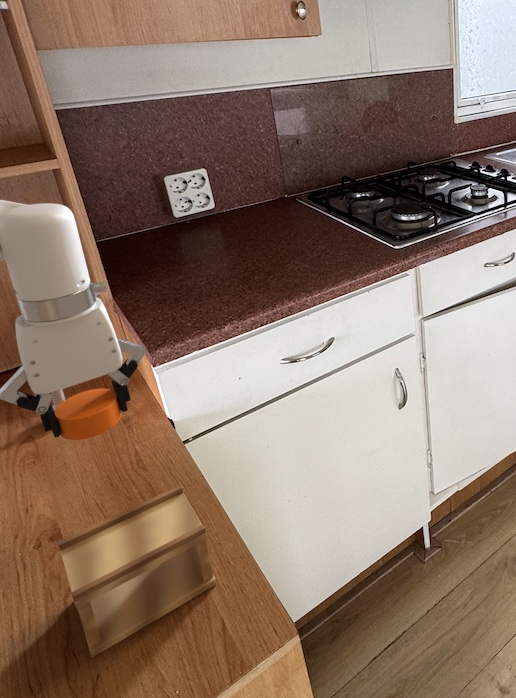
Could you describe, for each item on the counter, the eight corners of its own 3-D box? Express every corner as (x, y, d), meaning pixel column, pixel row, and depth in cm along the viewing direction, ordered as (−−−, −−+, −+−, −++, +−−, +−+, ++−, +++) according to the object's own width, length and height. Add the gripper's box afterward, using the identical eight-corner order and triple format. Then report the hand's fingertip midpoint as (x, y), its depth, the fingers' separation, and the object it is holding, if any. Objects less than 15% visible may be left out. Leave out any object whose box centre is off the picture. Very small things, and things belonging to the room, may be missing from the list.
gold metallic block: (91, 658, 67) (72, 597, 64) (75, 599, 74) (57, 541, 71) (216, 584, 77) (205, 527, 73) (192, 538, 83) (180, 484, 80)
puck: (52, 445, 75) (46, 425, 74) (68, 413, 81) (62, 394, 80) (115, 432, 77) (110, 412, 76) (126, 403, 83) (121, 384, 82)
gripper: (128, 274, 81) (152, 382, 87) (-36, 313, 70) (5, 435, 76) (143, 290, 76) (168, 404, 82) (-31, 336, 65) (13, 464, 71)
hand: (90, 418), depth 79 cm, fingers closed on puck, 7 cm apart
